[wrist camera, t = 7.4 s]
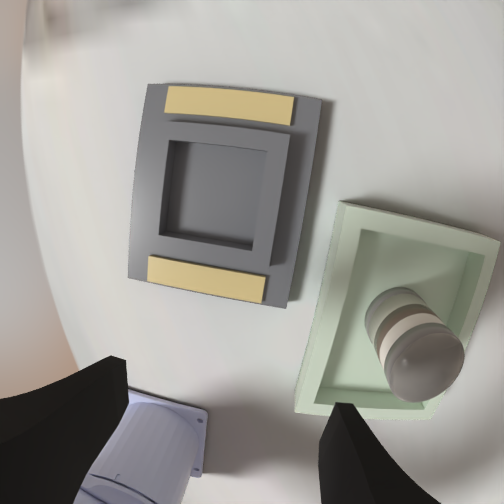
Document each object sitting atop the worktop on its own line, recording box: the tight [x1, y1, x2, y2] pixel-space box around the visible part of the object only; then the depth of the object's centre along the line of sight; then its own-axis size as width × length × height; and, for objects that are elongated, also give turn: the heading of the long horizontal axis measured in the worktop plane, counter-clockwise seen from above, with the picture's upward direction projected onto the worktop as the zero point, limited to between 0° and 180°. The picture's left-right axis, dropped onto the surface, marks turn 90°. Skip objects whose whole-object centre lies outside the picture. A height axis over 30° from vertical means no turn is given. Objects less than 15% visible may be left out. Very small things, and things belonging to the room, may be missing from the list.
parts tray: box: [295, 201, 501, 420], centre depth 18 cm, size 13×10×2 cm
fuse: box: [364, 287, 464, 403], centre depth 16 cm, size 4×4×6 cm
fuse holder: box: [128, 84, 322, 309], centre depth 18 cm, size 12×10×2 cm
